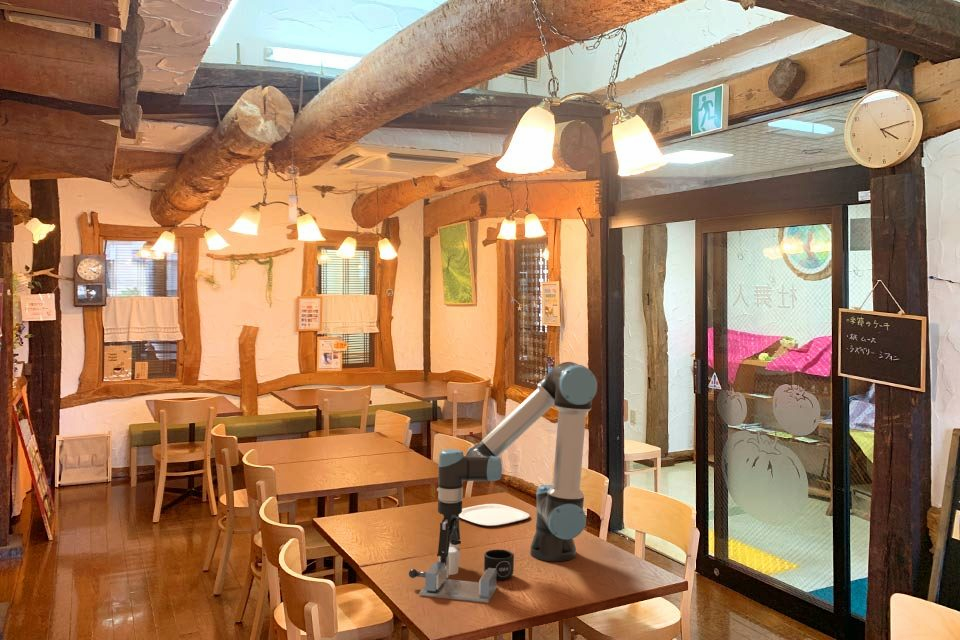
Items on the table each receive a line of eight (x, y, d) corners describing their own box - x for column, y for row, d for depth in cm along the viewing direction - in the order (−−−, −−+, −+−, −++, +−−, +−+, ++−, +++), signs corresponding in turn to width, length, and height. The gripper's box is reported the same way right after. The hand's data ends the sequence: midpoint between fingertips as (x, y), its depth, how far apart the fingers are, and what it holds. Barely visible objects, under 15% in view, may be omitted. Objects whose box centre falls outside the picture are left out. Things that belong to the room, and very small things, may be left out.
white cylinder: (457, 576, 238) (457, 553, 238) (435, 574, 240) (435, 551, 240) (462, 568, 245) (462, 546, 245) (441, 566, 247) (441, 545, 246)
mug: (517, 580, 236) (518, 557, 236) (489, 583, 233) (489, 560, 233) (504, 567, 247) (504, 545, 247) (477, 570, 244) (477, 547, 244)
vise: (496, 587, 230) (497, 567, 230) (487, 603, 218) (488, 581, 218) (431, 580, 234) (431, 561, 234) (419, 595, 223) (419, 574, 222)
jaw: (446, 579, 232) (447, 562, 232) (437, 591, 222) (437, 574, 222) (414, 575, 235) (414, 559, 234) (403, 588, 225) (403, 570, 225)
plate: (495, 505, 321) (495, 501, 321) (537, 519, 301) (537, 515, 301) (445, 515, 305) (445, 511, 304) (487, 531, 285) (487, 527, 285)
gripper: (448, 490, 254) (446, 557, 254) (427, 508, 231) (426, 582, 232) (470, 492, 252) (469, 560, 253) (452, 510, 230) (450, 585, 231)
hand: (448, 570), depth 242 cm, fingers open, 10 cm apart
